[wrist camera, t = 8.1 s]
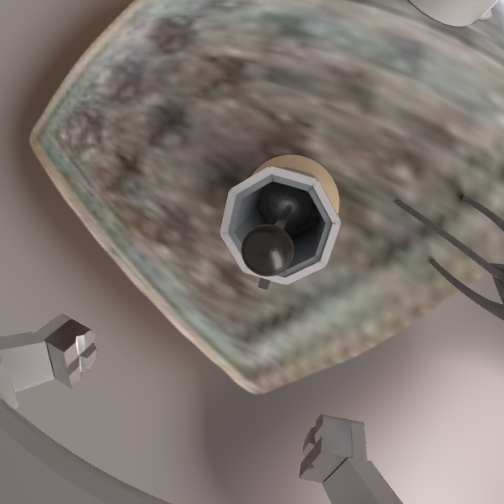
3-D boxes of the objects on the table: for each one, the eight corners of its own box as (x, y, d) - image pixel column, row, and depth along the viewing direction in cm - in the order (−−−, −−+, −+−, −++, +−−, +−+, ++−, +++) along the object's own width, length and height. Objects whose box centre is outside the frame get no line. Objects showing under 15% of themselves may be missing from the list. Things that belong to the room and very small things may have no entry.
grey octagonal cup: (257, 144, 40) (227, 141, 26) (350, 170, 38) (367, 181, 25) (234, 237, 45) (198, 277, 32) (320, 264, 43) (320, 315, 30)
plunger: (271, 177, 37) (229, 203, 20) (318, 191, 36) (320, 230, 19) (260, 222, 39) (212, 284, 22) (305, 236, 39) (293, 310, 21)
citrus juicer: (433, 265, 40) (535, 409, 12) (379, 237, 40) (461, 389, 13) (466, 197, 36) (617, 278, 8) (412, 165, 36) (567, 209, 8)
